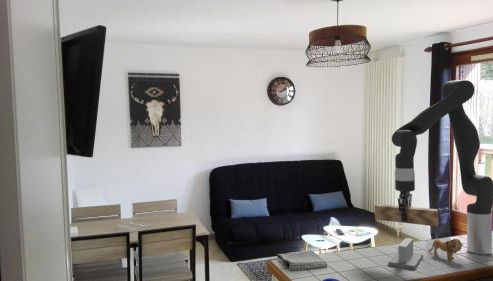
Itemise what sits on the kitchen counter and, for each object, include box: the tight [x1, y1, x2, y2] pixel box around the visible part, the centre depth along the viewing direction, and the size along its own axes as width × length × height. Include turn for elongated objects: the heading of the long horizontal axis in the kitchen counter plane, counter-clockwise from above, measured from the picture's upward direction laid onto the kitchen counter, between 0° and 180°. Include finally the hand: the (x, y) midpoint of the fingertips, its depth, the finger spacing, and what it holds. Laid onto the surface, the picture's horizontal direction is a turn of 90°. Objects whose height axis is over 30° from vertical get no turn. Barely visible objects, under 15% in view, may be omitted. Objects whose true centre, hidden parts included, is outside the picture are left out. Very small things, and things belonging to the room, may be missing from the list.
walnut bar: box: [374, 203, 439, 227], centre depth 161 cm, size 24×4×6 cm, turn 55°
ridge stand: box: [388, 237, 424, 271], centre depth 162 cm, size 16×10×8 cm, turn 145°
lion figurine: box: [427, 238, 464, 262], centre depth 166 cm, size 15×5×9 cm, turn 33°
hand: (405, 220), depth 162 cm, fingers closed on walnut bar, 3 cm apart
